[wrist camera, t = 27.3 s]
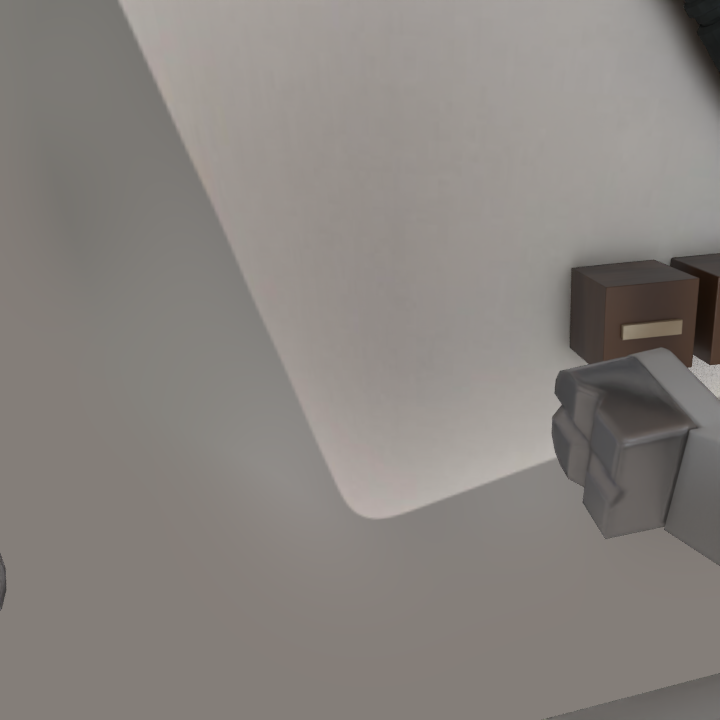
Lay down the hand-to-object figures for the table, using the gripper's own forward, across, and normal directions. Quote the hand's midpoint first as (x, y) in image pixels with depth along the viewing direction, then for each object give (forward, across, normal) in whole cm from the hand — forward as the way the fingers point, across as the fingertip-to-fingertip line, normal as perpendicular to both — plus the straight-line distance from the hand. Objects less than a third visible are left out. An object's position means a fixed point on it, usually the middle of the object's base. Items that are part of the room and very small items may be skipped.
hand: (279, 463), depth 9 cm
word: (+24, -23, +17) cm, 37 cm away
